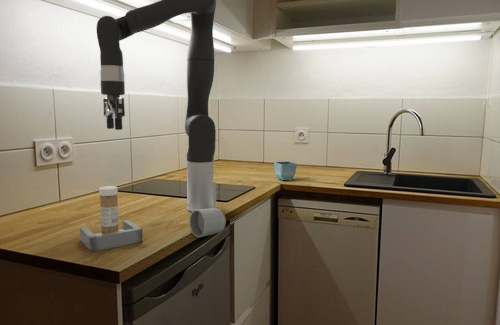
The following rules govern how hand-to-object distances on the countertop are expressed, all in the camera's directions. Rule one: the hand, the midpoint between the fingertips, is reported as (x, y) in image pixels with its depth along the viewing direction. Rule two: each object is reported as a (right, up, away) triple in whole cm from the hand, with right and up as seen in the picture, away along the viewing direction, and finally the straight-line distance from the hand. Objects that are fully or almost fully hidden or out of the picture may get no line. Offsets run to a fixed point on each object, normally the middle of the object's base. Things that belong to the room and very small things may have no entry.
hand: (114, 129), depth 131 cm
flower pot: (+64, -21, +65) cm, 93 cm away
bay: (+9, -32, -28) cm, 43 cm away
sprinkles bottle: (+9, -31, -28) cm, 43 cm away
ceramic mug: (+33, -32, -21) cm, 50 cm away
